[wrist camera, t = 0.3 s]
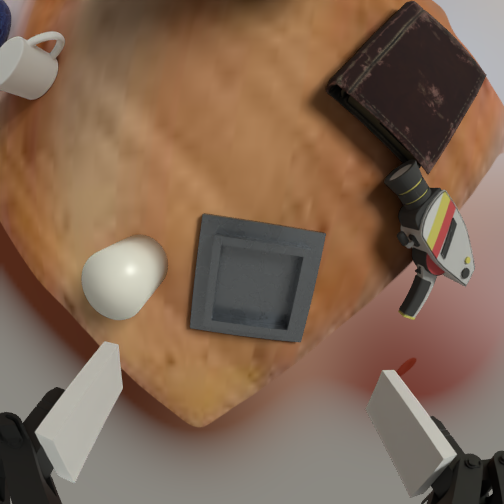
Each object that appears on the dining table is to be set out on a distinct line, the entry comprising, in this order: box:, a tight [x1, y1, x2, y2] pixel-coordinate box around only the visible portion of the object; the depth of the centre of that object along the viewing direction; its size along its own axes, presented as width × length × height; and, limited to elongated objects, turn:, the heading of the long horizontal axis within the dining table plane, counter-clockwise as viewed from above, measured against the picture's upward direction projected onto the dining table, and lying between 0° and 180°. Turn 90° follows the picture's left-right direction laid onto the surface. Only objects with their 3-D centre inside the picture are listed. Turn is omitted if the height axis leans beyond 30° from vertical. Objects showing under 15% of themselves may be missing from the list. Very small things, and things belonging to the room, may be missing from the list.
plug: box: [82, 234, 168, 320], centre depth 34 cm, size 8×8×10 cm
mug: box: [0, 31, 65, 100], centre depth 26 cm, size 8×10×12 cm
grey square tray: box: [190, 213, 326, 342], centre depth 38 cm, size 16×16×4 cm
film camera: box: [384, 160, 475, 320], centre depth 36 cm, size 7×19×15 cm
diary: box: [326, 1, 486, 174], centre depth 31 cm, size 19×25×5 cm
